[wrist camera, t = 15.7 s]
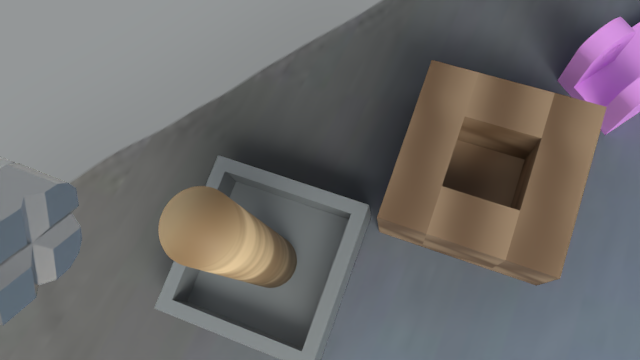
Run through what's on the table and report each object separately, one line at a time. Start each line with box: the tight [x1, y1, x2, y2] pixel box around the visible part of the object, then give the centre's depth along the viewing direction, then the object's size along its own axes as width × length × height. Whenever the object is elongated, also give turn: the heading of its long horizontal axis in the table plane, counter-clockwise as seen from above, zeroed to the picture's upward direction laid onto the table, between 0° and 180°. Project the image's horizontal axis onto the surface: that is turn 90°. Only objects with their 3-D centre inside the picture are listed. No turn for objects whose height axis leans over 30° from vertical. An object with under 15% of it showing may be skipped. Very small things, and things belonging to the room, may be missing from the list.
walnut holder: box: [377, 60, 607, 285], centre depth 40 cm, size 12×12×6 cm
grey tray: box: [155, 155, 371, 360], centre depth 42 cm, size 12×12×4 cm
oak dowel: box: [159, 186, 297, 288], centre depth 35 cm, size 4×4×16 cm
